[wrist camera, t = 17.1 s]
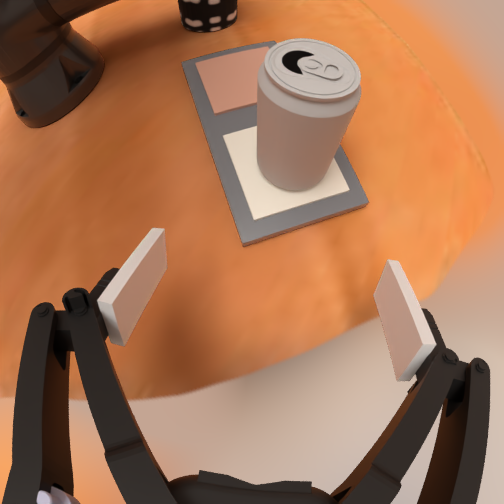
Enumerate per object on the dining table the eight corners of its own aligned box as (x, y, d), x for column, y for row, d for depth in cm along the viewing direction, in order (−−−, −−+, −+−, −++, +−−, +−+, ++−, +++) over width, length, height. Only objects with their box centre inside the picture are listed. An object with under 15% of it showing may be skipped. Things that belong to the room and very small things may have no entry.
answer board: (183, 68, 31) (180, 59, 29) (274, 47, 32) (274, 38, 30) (243, 246, 26) (242, 242, 24) (364, 206, 26) (370, 200, 25)
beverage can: (273, 124, 27) (281, 24, 15) (335, 149, 26) (375, 57, 14) (244, 177, 25) (237, 78, 14) (313, 205, 25) (354, 119, 13)
